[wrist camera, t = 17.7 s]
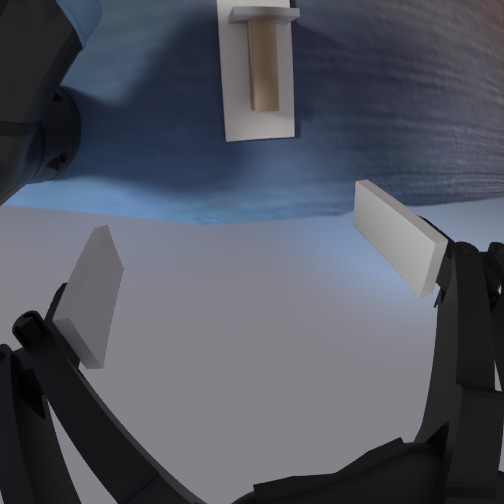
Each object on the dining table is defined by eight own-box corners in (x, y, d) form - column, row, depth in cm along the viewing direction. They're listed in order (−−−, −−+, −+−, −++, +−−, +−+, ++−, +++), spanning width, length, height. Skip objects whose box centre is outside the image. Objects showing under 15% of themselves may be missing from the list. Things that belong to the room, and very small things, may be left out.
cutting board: (225, 140, 41) (226, 141, 40) (216, -13, 28) (216, -15, 27) (292, 135, 42) (294, 136, 42) (286, -12, 30) (288, -14, 29)
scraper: (232, 110, 38) (238, 114, 33) (227, 16, 30) (233, 6, 25) (288, 108, 39) (302, 112, 34) (285, 17, 32) (299, 8, 26)
